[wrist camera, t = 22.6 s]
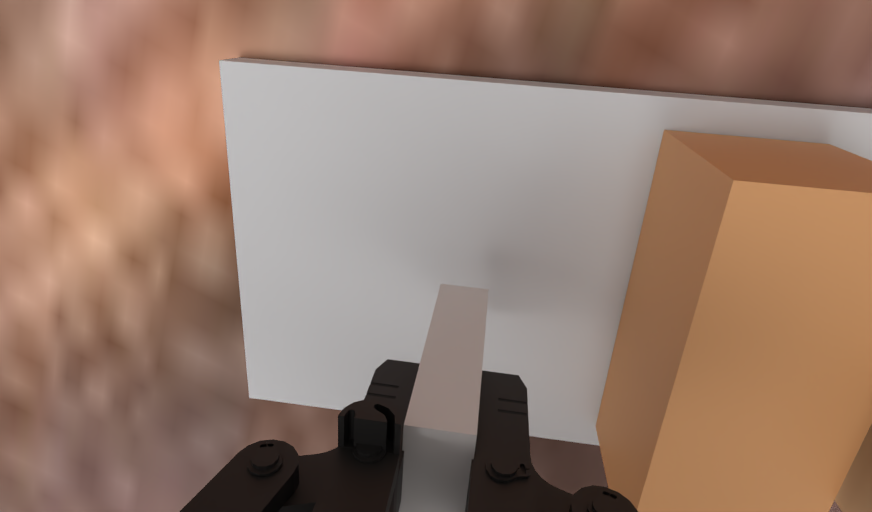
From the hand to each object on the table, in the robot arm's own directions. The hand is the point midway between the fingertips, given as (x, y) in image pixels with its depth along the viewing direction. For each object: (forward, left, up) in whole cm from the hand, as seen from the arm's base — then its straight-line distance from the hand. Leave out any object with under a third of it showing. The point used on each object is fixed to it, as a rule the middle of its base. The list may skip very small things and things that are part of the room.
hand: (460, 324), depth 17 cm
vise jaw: (0, -8, -3) cm, 9 cm away
